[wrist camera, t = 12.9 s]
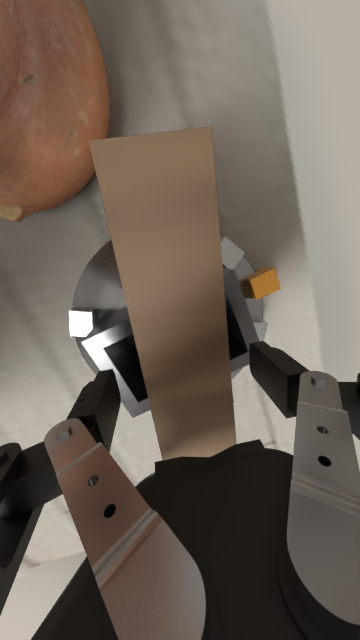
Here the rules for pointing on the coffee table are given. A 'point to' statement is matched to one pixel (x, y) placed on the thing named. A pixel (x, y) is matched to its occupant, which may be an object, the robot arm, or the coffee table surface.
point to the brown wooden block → (172, 281)
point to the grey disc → (116, 331)
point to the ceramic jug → (48, 103)
